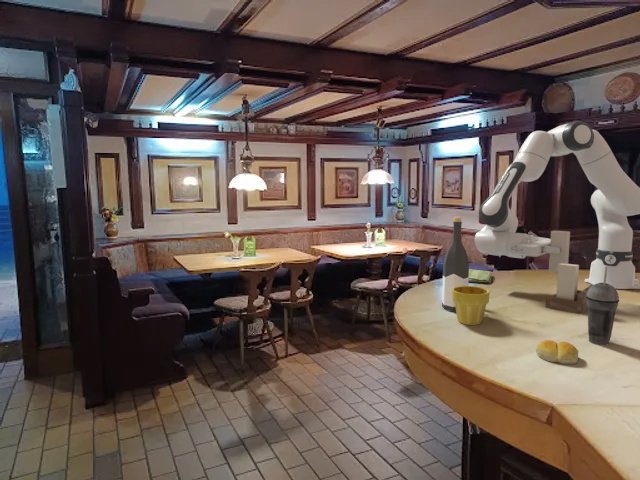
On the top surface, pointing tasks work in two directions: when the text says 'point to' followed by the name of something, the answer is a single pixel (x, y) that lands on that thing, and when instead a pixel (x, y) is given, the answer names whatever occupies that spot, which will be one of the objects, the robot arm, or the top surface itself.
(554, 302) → the wooden divided tray
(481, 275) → the washcloth
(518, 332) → the top surface
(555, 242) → the clay strip
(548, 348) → the bread roll
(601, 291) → the beverage cup
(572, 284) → the clay strip
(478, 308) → the plant pot
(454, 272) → the wine bottle
